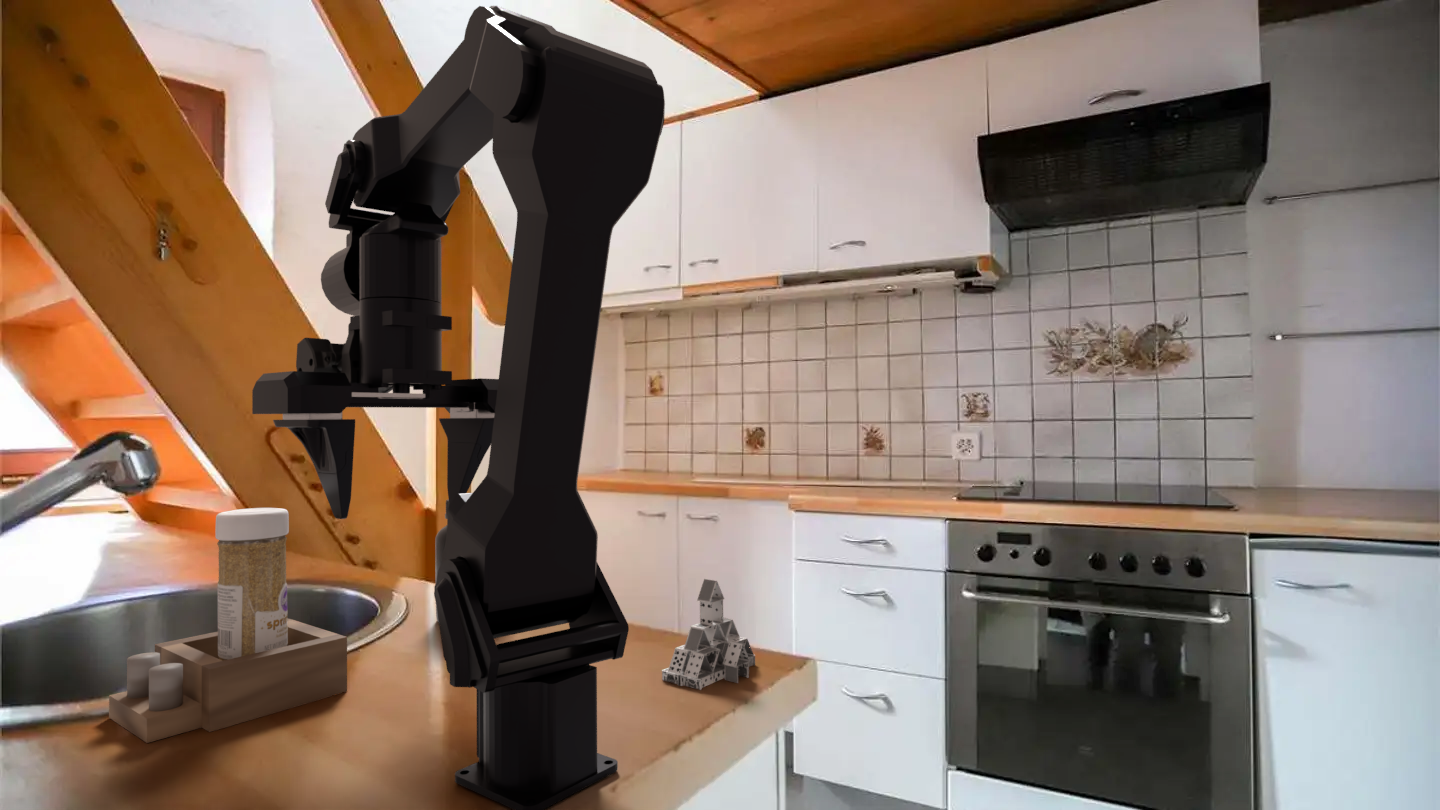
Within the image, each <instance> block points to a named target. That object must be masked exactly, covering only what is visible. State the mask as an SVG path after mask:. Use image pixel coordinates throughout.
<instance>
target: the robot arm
mask: <svg viewBox="0 0 1440 810" xmlns="http://www.w3.org/2000/svg"><path fill="white" fill-rule="evenodd" d="M464 31H465V32H464V38H463V40H462V42H460V43H459V45H458V46H457V47H456V49H454V51H453V52H452V53H451V55H450V56H449V57H448V58H447V60H445V62H444V63H443V64H442V66H440V68H439V70H437V71H436V73H435V74H434V75H433V77H432V78H431V79H430V80H429V82H428V83H427V84H426V85H425V86H424V87H423V89H422V90H421V91H420V92H419V94H418V95H417V96H416V97H415V98H414V99H413V100H412V102H411V103H410V104H409V105H408V107H407V108H406V109H405V110H404V111H403V112H402V113H398V114H392V115H391V114H390V115H383V116H377V117H376V116H375V117H373V118H372V119H370V120H369V121H368V122H366V124H364V125H362V127H360V128H359V129H358V130H357V131H356V132H355V133H354V135H353V137H352V139H348V140H346V142H345V143H344V144H343V149H342V152H341V153H339V154H338V155H337V157H336V161H335V165H334V168H333V173H332V175H331V180H330V183H329V187H328V191H327V195H326V198H325V208H326V211H327V213H328V214H329V218H328V228H330V229H334V230H343V231H348V232H349V233H347V234H346V237H345V238H346V239H345V240H346V241H345V242H346V243H345V245H346V247H345V248H343V249H341V250H339V251H337V252H336V253H334V254H333V255H331V256H330V257H329V259H327V260H326V262H325V263H324V265H323V266H324V267H323V269H322V271H321V273H320V283H321V289H322V291H323V293H324V296H325V297H326V298H327V300H328V301H329V303H330V304H331V305H332V306H334V307H335V308H336V309H337V310H338V311H340V312H342V313H344V314H345V315H346V314H347V315H350V316H349V317H350V318H349V319H350V320H349V323H348V326H347V327H348V330H347V331H348V334H347V337H346V340H345V342H344V343H333V342H331V341H330V339H328V338H317V337H304V338H303V339H301V340H300V341H299V342H298V343H297V344H296V345H297V346H296V358H295V360H296V361H295V362H296V363H295V368H296V371H295V370H291V371H282V372H279V371H278V372H267V373H262V375H260V377H259V378H258V379H257V380H256V381H255V383H254V386H253V388H252V392H251V393H252V396H251V397H252V401H251V402H252V403H251V404H252V405H251V406H252V412H251V413H252V415H282V419H273V420H272V421H273V424H274V426H275V428H287V429H288V430H289V431H290V432H291V433H292V434H293V435H294V436H295V437H296V438H297V440H299V441H300V443H301V444H302V446H303V447H304V449H305V451H306V453H307V454H308V455H307V456H309V458H310V460H311V462H312V464H313V467H314V469H315V472H316V473H317V477H318V479H319V482H320V484H321V487H322V489H323V492H324V494H325V497H326V499H327V502H328V504H329V507H330V509H331V512H332V515H333V516H334V518H335V519H337V520H338V519H339V520H345V519H347V518H348V516H349V512H350V511H349V510H350V506H351V505H350V504H351V500H352V499H351V498H352V489H353V488H352V486H353V469H354V453H355V451H354V450H355V448H354V447H355V436H356V435H355V434H356V418H355V419H354V418H353V419H352V418H350V419H349V418H347V419H346V418H345V419H343V412H344V410H345V409H346V408H401V409H402V408H419V409H421V408H427V409H428V408H434V409H435V408H436V409H437V408H438V409H439V408H441V409H442V408H444V410H446V411H447V412H448V413H449V417H448V418H447V417H446V418H445V417H443V418H442V417H441V418H438V421H439V423H440V425H441V427H442V429H443V432H444V434H445V435H446V438H447V453H446V454H447V457H446V458H447V466H446V467H447V469H446V471H447V474H446V476H447V477H446V483H447V484H446V486H447V496H448V499H449V504H450V506H449V508H448V516H447V519H446V521H447V522H446V523H447V524H446V525H447V536H446V542H445V547H444V550H443V553H442V557H441V561H442V563H441V565H440V567H439V570H438V574H437V581H436V580H435V584H434V586H433V587H434V591H433V597H434V600H435V606H436V605H437V612H438V619H439V623H438V625H439V633H440V640H441V648H442V654H443V659H444V661H445V663H446V664H445V665H446V670H447V673H448V674H449V685H450V686H452V687H454V688H474V689H476V756H477V758H478V761H477V762H474V763H473V764H470V765H467V766H465V767H463V768H461V769H458V770H457V771H455V773H454V783H456V784H457V785H460V786H461V787H464V788H466V789H468V790H470V791H473V792H475V793H477V794H479V795H481V796H484V797H486V798H488V799H490V800H492V801H495V802H497V803H499V804H501V805H503V806H505V807H508V808H510V809H512V810H545V809H547V808H549V807H550V806H552V805H554V804H556V803H559V802H560V801H562V800H565V799H566V798H567V797H570V796H572V795H574V794H575V793H577V792H580V791H581V790H584V789H585V788H587V787H589V786H591V785H593V784H595V783H597V782H599V781H601V780H602V779H604V778H606V777H608V776H610V775H612V774H614V773H616V772H617V771H618V767H619V764H618V760H617V759H615V758H612V757H610V756H608V755H605V754H601V753H599V752H598V681H597V680H598V675H597V674H598V670H597V669H598V668H597V666H596V665H595V666H594V665H591V664H595V663H596V664H597V663H600V662H604V661H608V660H614V661H615V660H618V659H622V658H623V656H624V652H625V650H626V649H625V648H626V644H627V640H628V636H629V635H628V634H629V630H630V629H629V623H628V621H627V619H626V617H625V615H624V613H623V612H622V609H621V607H620V605H619V603H618V601H617V599H616V597H615V595H614V593H613V592H612V589H611V587H610V586H609V584H608V581H607V579H606V577H605V576H604V573H603V572H602V570H601V567H600V565H599V564H598V561H597V560H598V536H599V535H598V534H599V533H598V530H597V529H596V526H595V525H594V522H593V520H592V518H591V516H590V514H589V512H588V509H587V507H586V506H585V504H584V502H583V500H582V497H581V494H580V492H579V491H578V480H579V479H578V478H579V472H580V464H581V456H582V449H583V441H584V433H585V427H586V421H587V415H588V414H587V413H588V405H589V398H590V392H591V391H590V390H591V386H592V385H591V384H592V376H593V367H594V362H595V355H596V354H595V353H596V348H597V339H598V333H599V327H600V318H601V311H602V304H603V296H604V288H605V282H606V276H607V275H606V274H607V270H608V269H607V268H608V267H607V266H608V260H609V252H610V247H611V246H610V245H611V238H612V235H613V230H614V227H615V226H616V224H617V223H618V222H619V221H620V219H621V218H622V217H623V216H624V215H625V213H626V212H627V210H628V209H629V208H630V207H631V205H632V204H633V203H634V202H635V200H636V199H637V198H638V197H639V195H640V194H641V193H642V192H643V190H644V189H645V188H646V186H647V185H648V184H649V181H650V177H651V175H652V170H653V165H654V161H655V158H656V153H657V150H658V145H659V142H660V141H659V140H660V138H661V137H660V136H661V135H662V133H663V132H662V131H663V129H664V124H665V109H666V108H665V105H666V103H665V102H666V101H665V100H666V99H665V93H664V92H665V91H664V87H663V86H662V84H659V83H658V80H657V79H656V76H655V74H654V72H653V70H652V68H651V67H649V65H647V64H646V63H645V62H643V61H641V60H638V59H635V58H631V57H630V56H628V55H627V56H626V55H625V54H621V53H618V52H615V51H613V50H611V49H608V48H604V47H602V46H600V45H597V44H594V43H591V42H588V41H585V40H583V39H580V38H577V37H576V36H572V35H569V34H567V33H564V32H560V31H558V30H557V29H556V28H555V27H553V25H550V24H548V23H544V22H542V21H539V20H536V19H534V18H531V17H528V16H525V15H523V14H520V13H518V12H515V11H511V10H509V9H506V8H504V7H502V6H501V7H500V6H498V5H490V6H489V7H486V6H483V5H482V6H481V5H479V6H478V7H476V8H475V9H473V11H472V13H471V15H470V17H469V18H468V22H467V24H466V27H465V30H464ZM490 141H492V156H493V158H494V161H495V163H496V166H497V168H498V170H499V172H500V176H501V178H502V180H503V181H504V184H505V186H506V188H507V190H508V193H509V195H510V198H511V200H512V202H513V204H514V207H515V210H516V228H515V235H514V244H513V254H512V262H511V271H510V279H509V286H508V287H509V289H508V297H507V305H506V312H505V313H506V314H505V323H504V329H503V330H504V332H503V337H502V339H503V340H502V346H501V347H502V348H501V356H500V365H499V372H498V373H499V375H498V378H481V377H479V378H467V379H466V378H465V379H453V371H452V370H443V369H442V365H443V364H442V359H443V358H442V357H443V356H442V351H443V350H442V348H443V347H442V346H443V345H442V342H443V341H442V340H443V339H442V336H443V334H442V332H446V331H452V330H453V326H452V325H453V322H452V321H453V317H452V316H450V315H449V316H447V315H442V309H443V308H442V238H443V237H445V236H447V235H448V234H449V226H448V225H447V223H446V221H447V219H448V216H449V214H450V212H451V210H452V208H453V206H454V204H455V202H456V200H457V198H459V196H460V195H461V183H460V171H461V170H462V168H463V167H464V166H465V165H466V164H467V163H468V162H469V161H471V159H473V158H474V157H475V155H477V154H478V153H479V152H480V151H481V150H482V149H483V148H484V147H485V146H486V145H488V144H489V142H490ZM353 204H354V206H355V207H357V208H353V207H351V206H352V205H353ZM360 208H363V209H360ZM365 209H369V210H365ZM370 210H371V211H370ZM372 210H375V211H372ZM377 211H381V212H377ZM384 212H386V213H384ZM389 213H393V214H389ZM411 388H413V391H422V393H413V392H412V393H411ZM391 391H392V392H391ZM489 449H490V452H489V459H488V465H487V466H488V467H487V472H486V475H485V477H484V478H483V480H482V481H481V482H480V483H479V485H478V486H477V487H476V488H475V490H474V491H473V492H468V491H469V489H470V487H471V485H472V483H473V480H474V478H475V477H476V473H478V470H479V467H480V466H481V464H482V462H483V459H484V457H485V455H486V453H487V452H488V450H489ZM564 624H565V625H566V624H568V626H569V628H566V629H561V630H557V631H553V632H547V633H541V634H539V635H534V636H529V637H525V638H520V639H515V640H510V641H506V642H501V643H496V641H495V639H497V638H503V637H509V636H512V635H516V634H517V635H518V634H522V633H526V632H532V631H536V630H541V629H546V628H551V627H555V626H560V625H564Z"/></svg>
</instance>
